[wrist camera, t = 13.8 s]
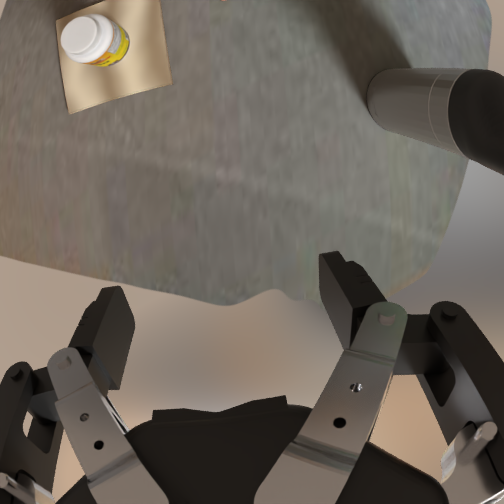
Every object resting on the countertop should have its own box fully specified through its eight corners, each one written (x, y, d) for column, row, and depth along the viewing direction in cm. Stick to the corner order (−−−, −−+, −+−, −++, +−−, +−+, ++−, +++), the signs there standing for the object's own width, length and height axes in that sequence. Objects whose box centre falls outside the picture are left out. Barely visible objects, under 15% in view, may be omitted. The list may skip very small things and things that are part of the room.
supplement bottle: (84, 63, 30) (45, 57, 21) (99, 23, 28) (65, 6, 19) (122, 71, 31) (91, 65, 22) (138, 30, 29) (113, 11, 20)
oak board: (158, -13, 27) (157, -15, 26) (173, 84, 34) (171, 83, 33) (59, 21, 27) (55, 20, 26) (72, 113, 34) (69, 114, 33)
